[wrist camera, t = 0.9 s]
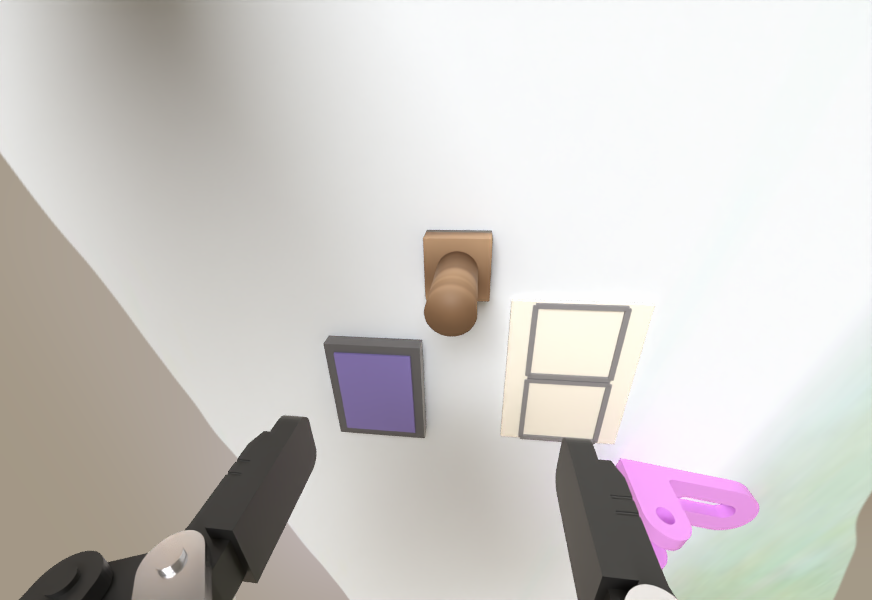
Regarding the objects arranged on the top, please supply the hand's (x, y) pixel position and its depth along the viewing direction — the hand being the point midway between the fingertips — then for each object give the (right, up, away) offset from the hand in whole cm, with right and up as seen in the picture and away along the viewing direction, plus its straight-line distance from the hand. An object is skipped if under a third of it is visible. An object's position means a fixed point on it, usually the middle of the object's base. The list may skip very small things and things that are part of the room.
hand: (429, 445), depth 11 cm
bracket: (+23, -14, +23) cm, 35 cm away
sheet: (+11, -2, +18) cm, 21 cm away
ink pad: (-5, -3, +21) cm, 21 cm away
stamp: (+2, +7, +15) cm, 16 cm away
